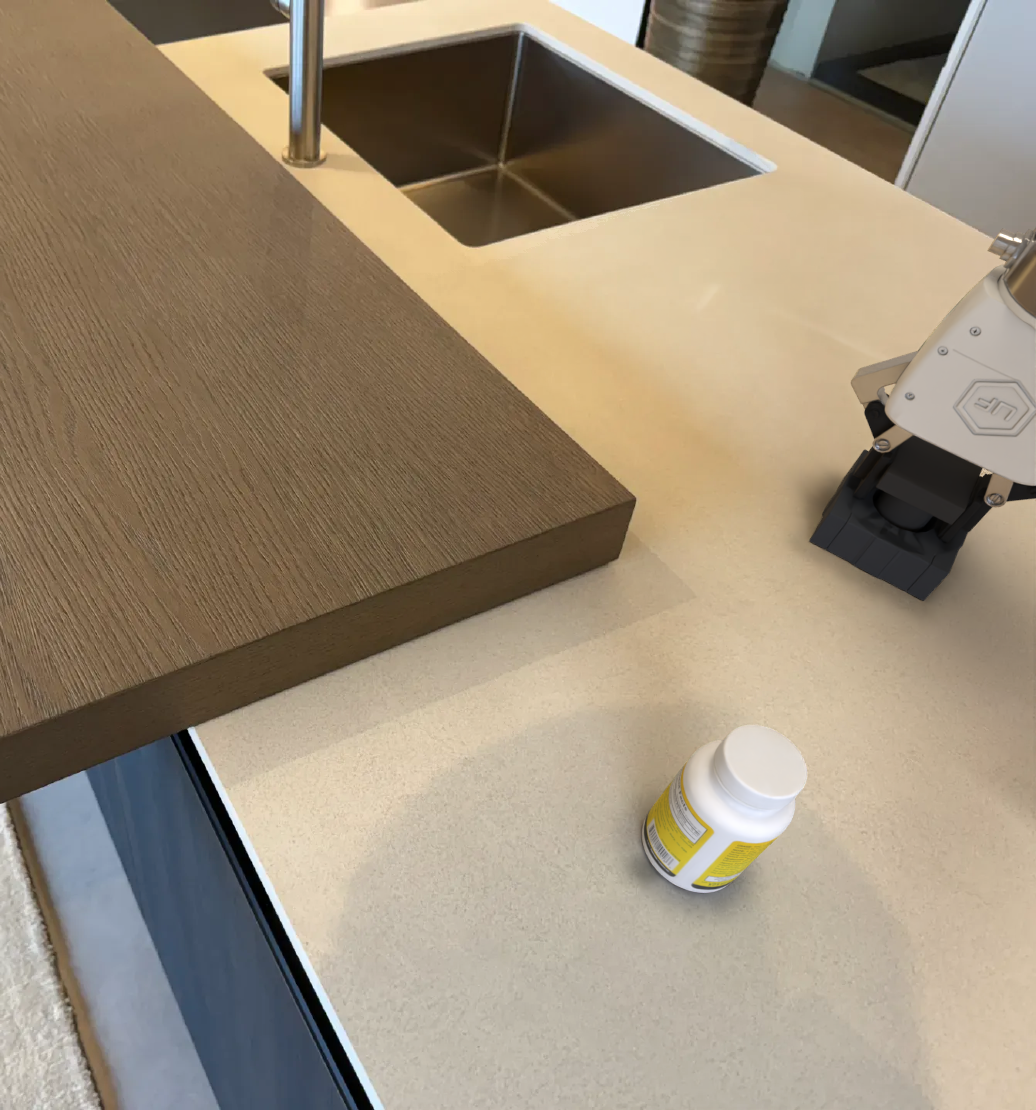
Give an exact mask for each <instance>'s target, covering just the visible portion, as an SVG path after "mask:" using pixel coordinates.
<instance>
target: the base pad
mask: <svg viewBox="0 0 1036 1110" xmlns="http://www.w3.org/2000/svg"><path fill="white" fill-rule="evenodd" d="M868 451H869V450H867V449H863V450H862V452H861V453H860V454H859V456H858V457H857V459H856V460H855V461H854V462H853V464H852V466H851V467H850V468H849V470H848V471H847V472H846V474H845V475H844V477H843V478H842V480H841V482H840V484H839V486H838V487H837V489H836V491H835V492H834V494H833V495H832V496H831V498H830V499H829V500H828V503H827V505H826V506H825V508H824V509H823V512H822V514H821V515H822V517H821V519H820V520H819V522H818V524H817V526H816V527H815V528H814V531H813V533H812V535H811V537H810V538H809V542H810V543H812V544H814V545H816V546H818V547H820V548H821V549H823V550H826V551H827V552H829V553H831V554H833V555H835V556H837V557H839V558H841V559H842V560H845V561H846V562H848V563H850V564H851V565H852V566H854V567H856V568H858V569H860V570H861V571H863V572H865V573H867V574H869V575H871V576H873V577H875V578H877V579H880V580H882V581H885V582H886V583H888V584H890V585H892V586H894V587H896V588H898V589H900V590H902V591H904V592H906V593H908V594H909V595H911V596H913V597H914V598H917V599H919V600H921V601H922V602H924V601H925V600H927V598H928V597H929V596H930V595H931V594H932V593H933V592H934V591H935V590H936V588H938V587H939V585H940V584H941V583H942V582H943V581H944V580H945V579H946V578H947V577H948V576H949V575H950V573H951V570H952V568H953V565H954V563H955V560H956V558H957V556H958V553H959V550H960V549H962V548H963V546H964V543H965V541H966V539H967V537H968V534H969V532H967V531H965V530H963V529H960V530H959V531H958V532H957V533H956V534H955V535H954V536H953V538H952V539H951V540H950V541H949V542H948V543H946V542H944V541H942V540H940V539H939V538H940V537H939V536H938V533H939V531H940V529H941V526H942V524H943V522H944V521H943V520H941V519H939V518H937V517H935V516H933V517H932V518H931V519H930V520H929V522H928V523H927V524H926V525H925V526H924V527H923V529H922V530H920V531H918V532H911V531H907V530H902V529H900V528H898V527H896V526H894V525H892V524H890V523H889V522H888V521H887V520H886V519H884V518H883V517H882V516H881V515H880V514H879V512H878V511H877V509H876V508H875V506H874V504H875V501H876V500H877V498H878V497H879V496H880V494H881V493H882V492H883V491H882V490H880V489H878V488H876V486H877V484H878V482H879V481H878V482H877V483H876V485H875V486H874V487H873V489H872V490H871V491H870V492H869V494H868V495H867V496H866V498H865V499H863V498H861V499H859V498H857V497H855V496H853V495H854V493H855V491H856V489H857V487H858V485H859V483H860V481H861V479H860V478H858V477H856V476H854V475H853V474H854V472H855V470H856V469H857V467H858V465H859V464H860V462H861V461H862V460H863V458H864V457H865V455H866V454H867V453H868ZM879 480H880V479H879Z"/></svg>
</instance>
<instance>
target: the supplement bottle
mask: <svg viewBox="0 0 1036 1110" xmlns="http://www.w3.org/2000/svg"><path fill="white" fill-rule="evenodd" d="M796 745H797V744H795V743H794V742H793V741H792V740H791V739H790V738H789V737H787V736H786V735H784V734H783V733H782V732H780V731H778V730H776V729H774V728H772V727H769V726H766V725H763V724H757V723H747V724H742V725H739V726H737V727H735V728H733V729H731V730H730V731H729V732H728V734H726V736H725V737H724V738H723V739H717V740H712V741H709V742H707V743H705V744H703V745H702V746H700V747H698V748H697V749H696V750H695V751H694V752H693V754H692V755H690V757H688V759H687V760H686V762H685V763H684V764H683V766H682V767H681V768H680V770H679V771H678V772H677V774H676V775H675V776H674V778H673V779H672V780H671V781H670V783H669V784H668V785H667V786H666V788H665V789H664V790H663V791H662V793H661V794H660V796H659V797H658V798H657V800H656V801H655V802H654V804H653V805H652V806H651V808H649V810H648V812H647V814H646V816H645V817H644V820H643V824H642V830H641V839H642V840H641V841H642V845H643V849H644V852H645V854H646V857H647V858H648V860H649V862H650V863H651V865H652V866H653V867H654V868H655V870H656V871H657V872H658V873H659V874H660V875H661V876H662V877H663V878H664V879H665V880H667V881H668V882H670V883H671V884H672V885H675V886H676V887H679V888H681V889H683V890H685V891H689V892H694V893H699V894H700V893H702V894H703V893H704V894H705V893H714V892H717V891H720V890H723V889H724V888H726V887H728V886H729V885H730V884H731V883H733V882H734V881H735V880H736V879H737V878H738V877H739V876H740V875H741V874H742V873H743V872H744V871H745V870H746V869H747V868H748V867H749V866H750V865H751V864H752V863H753V862H754V861H755V860H756V859H757V858H758V857H759V856H760V855H761V854H762V853H763V852H764V851H766V849H768V848H769V846H770V845H772V843H773V842H775V841H776V840H777V839H778V838H779V837H780V836H781V835H782V834H783V833H784V832H785V831H786V829H788V827H789V826H790V824H791V823H792V821H793V818H794V816H795V811H796V805H797V803H796V799H797V798H796V797H797V796H798V795H799V794H800V793H801V792H802V791H803V790H804V787H805V786H806V784H807V780H808V766H807V763H806V760H805V758H804V756H803V753H802V752H801V750H800V749H799V748H798V746H796Z"/></svg>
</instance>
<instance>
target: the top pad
mask: <svg viewBox="0 0 1036 1110" xmlns="http://www.w3.org/2000/svg"><path fill="white" fill-rule="evenodd" d="M983 469H984V468H981V467H979V466H977V465H975V464H973V463H971V462H969V461H967V460H965V459H962V458H960V457H958V456H956V455H954V454H952V453H950V452H948V451H946V450H944V449H941V448H939V447H937V446H935V445H933V444H931V443H929V442H927V441H925V440H923V439H921V438H919V437H917V436H915V435H913V436H912V437H910V438H909V439H907V440H906V441H904V442H903V443H902V445H901V447H900V449H899V451H898V453H897V455H896V457H895V459H894V461H893V462H892V464H891V465H890V466H889V468H888V469H887V470H886V471H885V473H884V474H883V475H882V477H881V478H880V480H879V482H878V484H877V486H876V488H878V489H880V490H882V491H883V492H882V493H881V494H880V496H879V497H878V498H877V500H876V501H875V504H874V506H875V508H876V509H877V511H878V512H879V514H880V515H881V516H882V517H883V518H884V519H886V520H887V521H888V522H889V523H890V524H892V525H894V526H896V527H898V528H900V529H902V530H907V531H911V532H918V531H920V530H922V529H923V527H924V526H925V525H926V524H927V523H928V522H929V520H930V519H931V518H932V517H933V516H935V517H937V518H939V519H941V520H943V521H945V522H947V523H949V524H951V525H952V524H953V523H954V522H955V521H956V520H957V519H958V517H959V516H960V515H961V514H962V513H963V512H964V511H965V509H966V507H967V504H968V502H969V499H970V497H971V495H972V492H973V490H974V488H975V485H976V483H977V480H978V478H979V476H981V474H982V471H983Z"/></svg>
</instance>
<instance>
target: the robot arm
mask: <svg viewBox="0 0 1036 1110" xmlns="http://www.w3.org/2000/svg"><path fill="white" fill-rule="evenodd" d="M987 252H988V253H990V254H994V255H996V256H999V257H998V259H999V260H1001V261H1004V264H1003V263H1002V264H1000V265H997V266H995V267H994V268H993V269H991V270H990V271H989V272H987V274H985V275H984V276H983V277H982V278H981V279H980V280H979V281H978V282H977V283H975V285H973V287H972V288H971V289H969V291H968V292H966V294H965V295H964V296H963V297H962V298H961V299H960V300H959V301H958V302H957V303H956V304H955V306H953V308H951V310H950V311H948V313H947V314H946V315H945V317H944V318H943V319H942V320H941V321H940V322H939V324H938V325H936V327H935V328H934V329H933V331H932V332H931V333H930V335H929V336H928V337H927V338H926V339H925V341H923V343H922V344H921V345H920V347H919V348H918V350H915V351H913V352H910V353H905V354H902V355H900V356H896V357H893V358H889V359H886V360H882V361H880V362H876V363H873V364H869V365H866V366H863V367H860V368H858V369H857V370H856V372H855V374H854V375H853V377H852V379H851V380H850V386H851V388H852V390H853V392H854V394H855V396H856V398H857V399H858V402H859V403H860V405H862V407H863V409H864V410H863V411H864V412H863V413H864V414H863V415H864V417H865V419H866V422H867V425H868V427H869V430H870V432H871V435H872V438H873V441H872V445H871V447H870V449H869V450H867V451H868V453H867V454H866V455H865V457H864V458H863V460H862V461H861V462H860V464H859V465H858V467H857V469H856V470H855V472H854V474H853V475H854V476H856V477H858V478H860V479H861V481H860V483H859V485H858V487H857V489H856V491H855V493H854V495H853V496H855V497H857V498H859V499H861V498H863V499H865V498H866V496H867V495H868V494H869V492H870V491H871V490H872V489H873V487H874V486H875V485H876V483H877V482H878V481H879V479H880V478H881V477H882V475H883V474H884V473H885V471H886V470H887V469H888V468H889V466H890V465H891V464H892V462H893V461H894V459H895V457H896V455H897V453H898V451H899V449H900V447H901V445H902V443H903V442H904V441H906V440H907V439H909V438H910V437H912V436H913V435H915V436H917V437H919V438H921V439H923V440H925V441H927V442H929V443H931V444H933V445H935V446H937V447H939V448H941V449H944V450H946V451H948V452H950V453H952V454H954V455H956V456H958V457H960V458H962V459H965V460H967V461H969V462H971V463H973V464H975V465H977V466H979V467H981V468H983V469H984V470H986V471H987V472H990V473H987V472H986V473H984V474H983V475H982V476H981V475H980V476H979V478H978V480H977V483H976V485H975V488H974V490H973V492H972V495H971V497H970V499H969V502H968V504H967V507H966V509H965V511H964V512H963V513H962V514H961V515H960V516H959V517H958V519H957V520H956V521H955V522H954V523H953V524H952V525H951V524H949V523H947V522H945V521H944V522H943V524H942V526H941V529H940V531H939V533H938V536H939V537H940V538H939V539H940V540H942V541H944V542H946V543H948V542H949V541H950V540H951V539H952V538H953V536H954V535H955V534H956V533H957V532H958V531H959V530H960V529H963V530H965V531H967V532H968V533H970V532H972V530H973V529H974V528H975V527H976V526H977V525H978V523H980V521H982V519H983V518H984V517H985V516H986V515H987V514H988V513H989V512H990V511H991V510H992V508H1001V507H1003V506H1004V505H1006V503H1008V502H1017V501H1018V502H1019V501H1025V500H1036V227H1035V228H1034V229H1033V230H1032V229H1030V228H1028V229H1027V230H1026V232H1025V233H1024V232H1021V231H1016V232H1013V231H1010V230H1008V229H1006V228H1001V229H1000V230H999V232H998V233H997V235H996V236H995V238H994V239H993V240H992V242H991V243H990V245H989V246H988V248H987ZM892 385H894V386H893V388H892V390H891V391H890V393H889V394H888V393H887V392H886V389H885V387H889V386H892Z"/></svg>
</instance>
